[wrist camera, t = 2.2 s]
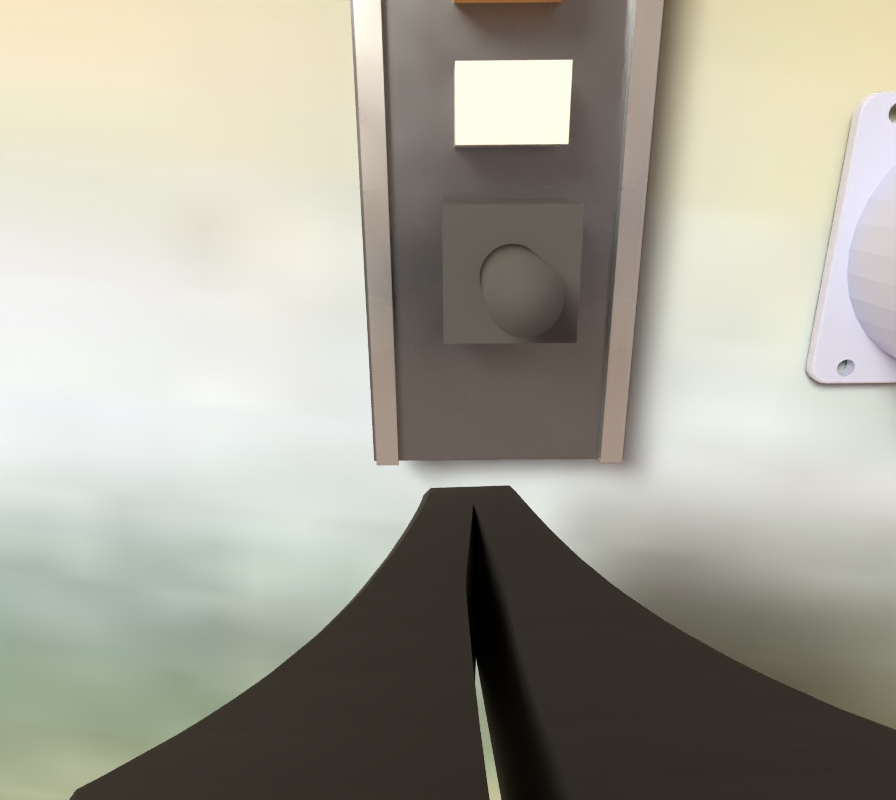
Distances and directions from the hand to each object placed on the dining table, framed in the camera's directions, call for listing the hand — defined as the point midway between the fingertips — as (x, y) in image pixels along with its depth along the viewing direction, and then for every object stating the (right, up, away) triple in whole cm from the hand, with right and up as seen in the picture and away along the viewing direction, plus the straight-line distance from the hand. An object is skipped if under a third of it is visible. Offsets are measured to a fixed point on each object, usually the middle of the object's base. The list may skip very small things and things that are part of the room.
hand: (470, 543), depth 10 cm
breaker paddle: (+1, +9, +5) cm, 10 cm away
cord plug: (+1, +6, +6) cm, 9 cm away
